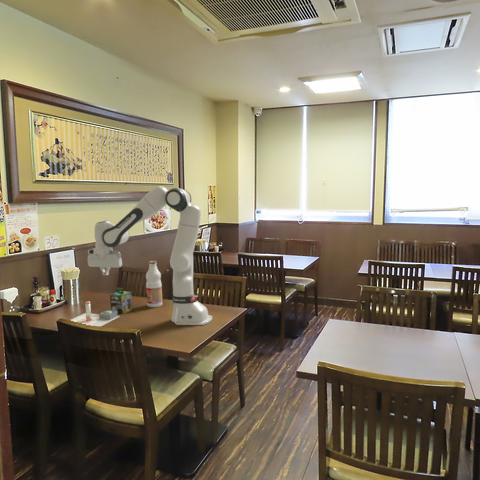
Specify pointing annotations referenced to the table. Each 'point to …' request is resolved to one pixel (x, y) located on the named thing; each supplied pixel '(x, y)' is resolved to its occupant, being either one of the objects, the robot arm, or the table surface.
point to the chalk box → (121, 301)
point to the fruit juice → (153, 286)
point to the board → (97, 318)
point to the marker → (88, 311)
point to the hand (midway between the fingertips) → (105, 274)
